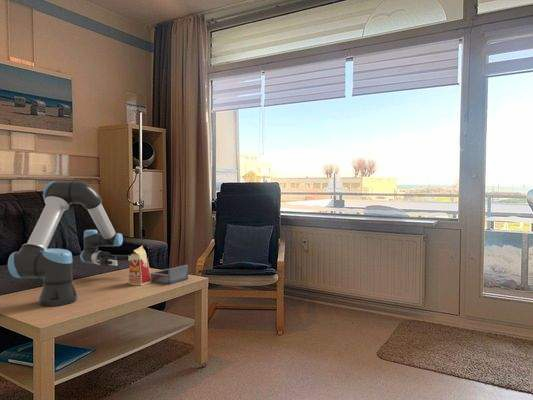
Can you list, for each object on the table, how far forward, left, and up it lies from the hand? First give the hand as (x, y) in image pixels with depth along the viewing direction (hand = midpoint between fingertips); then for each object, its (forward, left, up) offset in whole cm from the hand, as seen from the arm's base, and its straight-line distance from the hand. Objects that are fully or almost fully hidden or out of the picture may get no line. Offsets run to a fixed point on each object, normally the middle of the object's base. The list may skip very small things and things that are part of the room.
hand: (127, 261), depth 218 cm
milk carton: (0, -10, -11) cm, 15 cm away
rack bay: (+13, -19, -11) cm, 25 cm away
